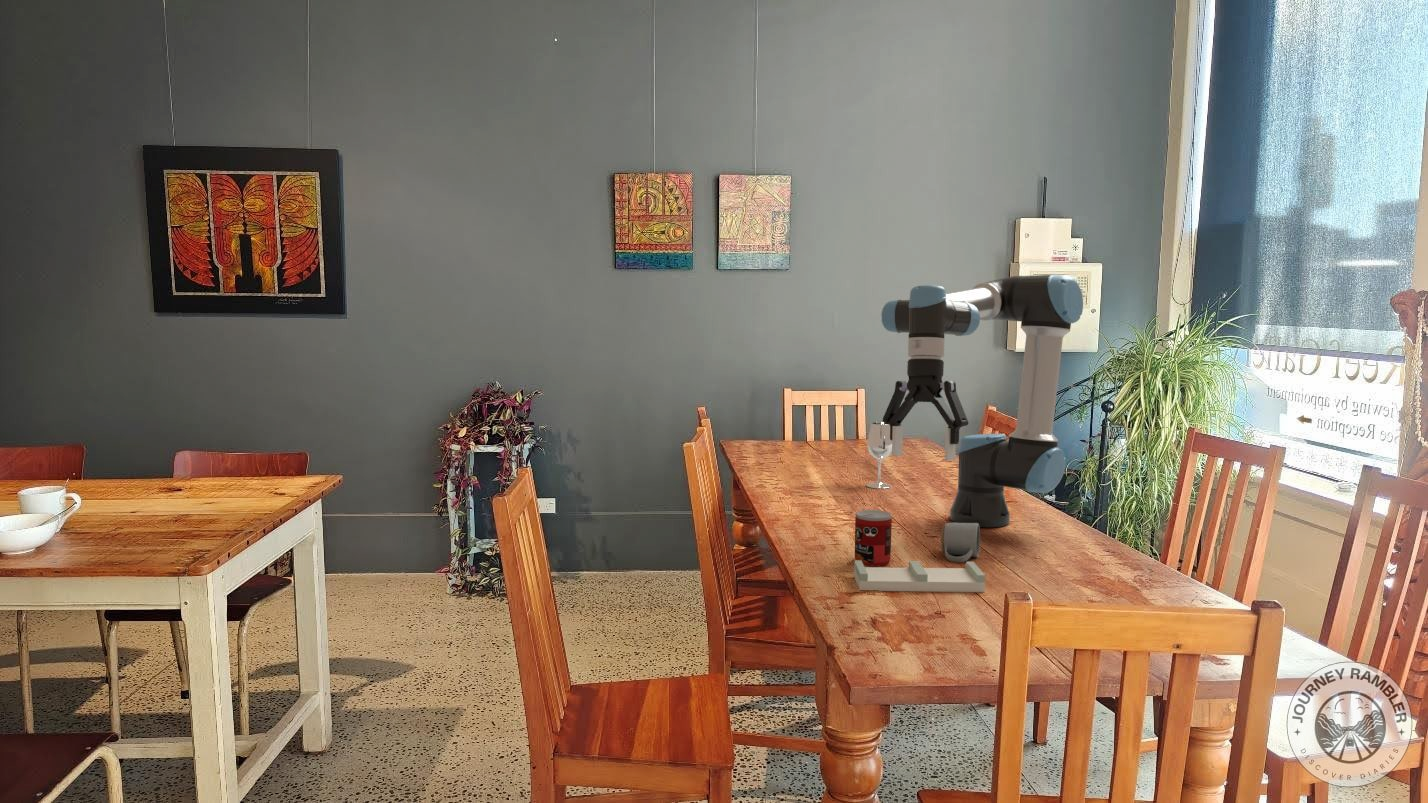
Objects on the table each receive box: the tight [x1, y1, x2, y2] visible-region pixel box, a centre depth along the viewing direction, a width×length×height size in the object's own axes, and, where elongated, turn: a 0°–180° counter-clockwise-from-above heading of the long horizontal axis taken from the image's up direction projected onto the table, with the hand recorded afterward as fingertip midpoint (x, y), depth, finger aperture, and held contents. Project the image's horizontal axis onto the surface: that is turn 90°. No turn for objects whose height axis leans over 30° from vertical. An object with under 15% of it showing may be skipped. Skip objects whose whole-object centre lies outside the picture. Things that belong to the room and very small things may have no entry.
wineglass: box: [866, 421, 892, 490], centre depth 268 cm, size 8×8×20 cm
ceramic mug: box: [940, 522, 981, 563], centre depth 196 cm, size 11×8×8 cm
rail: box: [853, 559, 986, 593], centre depth 177 cm, size 25×9×4 cm, turn 88°
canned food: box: [854, 509, 893, 567], centre depth 192 cm, size 8×8×11 cm
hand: (922, 458), depth 183 cm, fingers open, 13 cm apart
